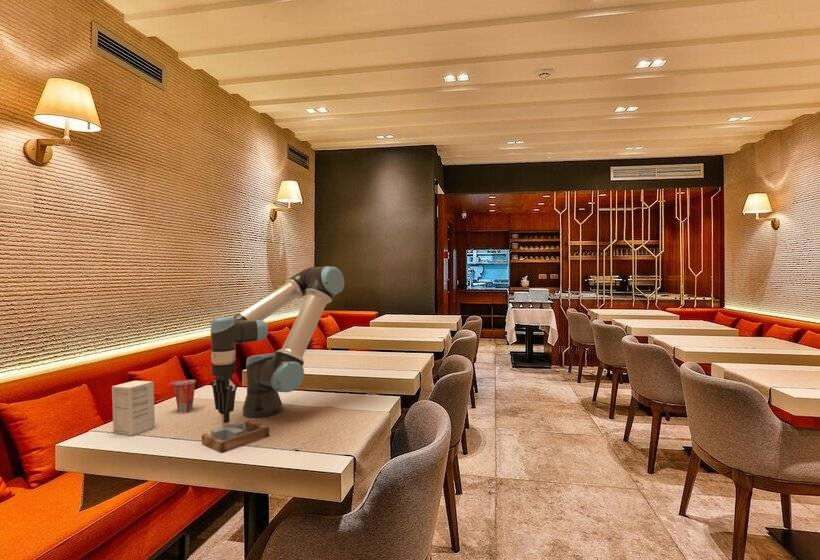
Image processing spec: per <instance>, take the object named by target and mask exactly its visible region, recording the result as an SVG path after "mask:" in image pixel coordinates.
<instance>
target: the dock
mask: <svg viewBox="0 0 820 560" xmlns="http://www.w3.org/2000/svg"><path fill="white" fill-rule="evenodd" d="M244 424H245V425H244V431H247V432H244V434H241V435H238V436H235V437H232V438H229V439H226V440H221V439H218V438H216V437H213V436H211V434H209V433H204V434H203V433H202V434H201V445H202V446H206V447H207V448H210V449H212V450H214V451H216V452H218V453H222V454H223V453H224V452H227V451H230V450H233V449H236V448H238V447H242V446H244V445H246V444H247V445H248V444H250V443H253V442H256V441H259V440H261V439H265V438H268V437H269V436H270V426H267V425H264V424H261V423H258V422H255V421H251V420H246V421H244Z"/></svg>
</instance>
